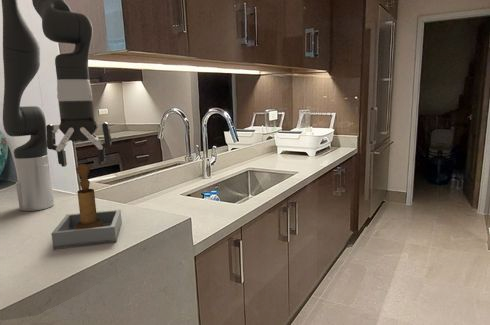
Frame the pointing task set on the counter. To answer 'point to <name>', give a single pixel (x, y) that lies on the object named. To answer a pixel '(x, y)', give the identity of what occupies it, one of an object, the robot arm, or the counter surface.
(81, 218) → the turned wooden knob
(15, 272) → the counter surface
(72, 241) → the tray
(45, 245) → the counter surface
